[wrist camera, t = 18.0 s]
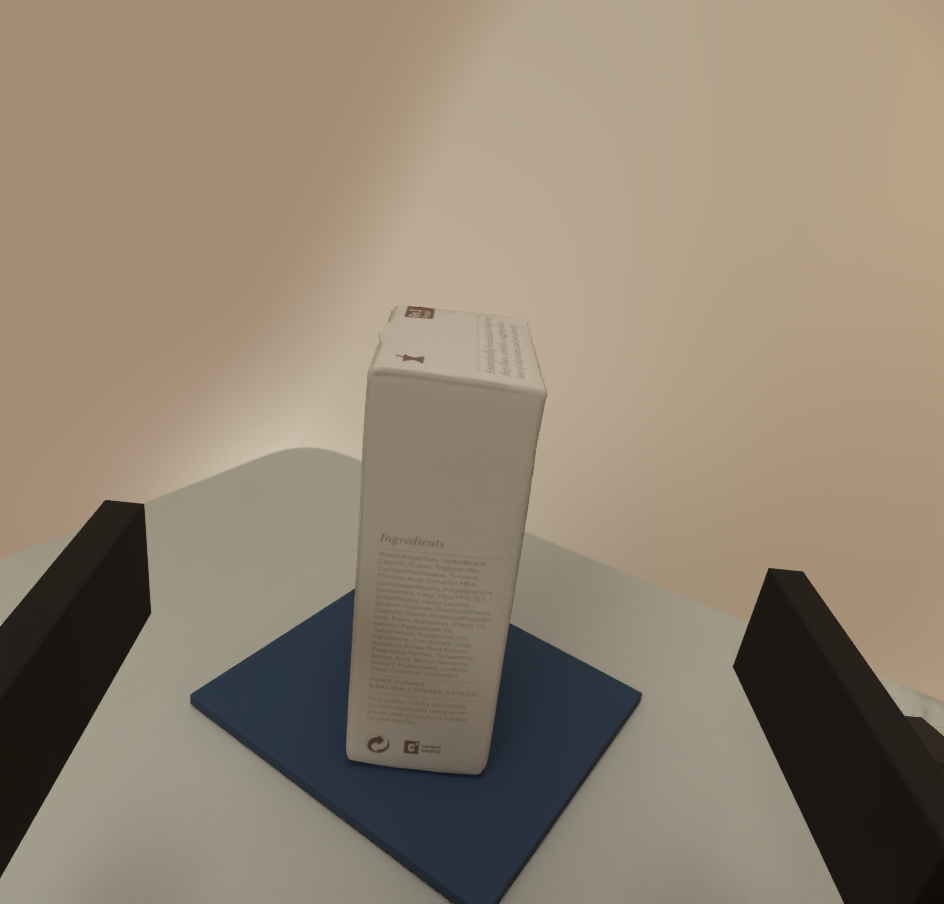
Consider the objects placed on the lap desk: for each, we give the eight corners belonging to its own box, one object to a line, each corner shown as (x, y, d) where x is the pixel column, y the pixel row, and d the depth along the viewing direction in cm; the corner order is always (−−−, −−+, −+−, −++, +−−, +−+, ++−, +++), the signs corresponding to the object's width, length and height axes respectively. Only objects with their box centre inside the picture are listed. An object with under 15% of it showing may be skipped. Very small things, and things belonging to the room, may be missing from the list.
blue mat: (190, 703, 24) (189, 694, 24) (394, 570, 32) (395, 561, 31) (482, 926, 19) (484, 915, 19) (639, 701, 26) (642, 692, 26)
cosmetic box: (489, 780, 22) (567, 394, 17) (334, 766, 22) (363, 368, 17) (486, 640, 28) (543, 316, 22) (362, 627, 27) (390, 296, 22)
